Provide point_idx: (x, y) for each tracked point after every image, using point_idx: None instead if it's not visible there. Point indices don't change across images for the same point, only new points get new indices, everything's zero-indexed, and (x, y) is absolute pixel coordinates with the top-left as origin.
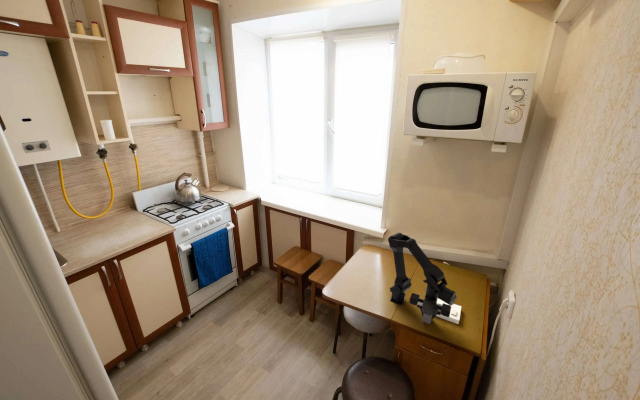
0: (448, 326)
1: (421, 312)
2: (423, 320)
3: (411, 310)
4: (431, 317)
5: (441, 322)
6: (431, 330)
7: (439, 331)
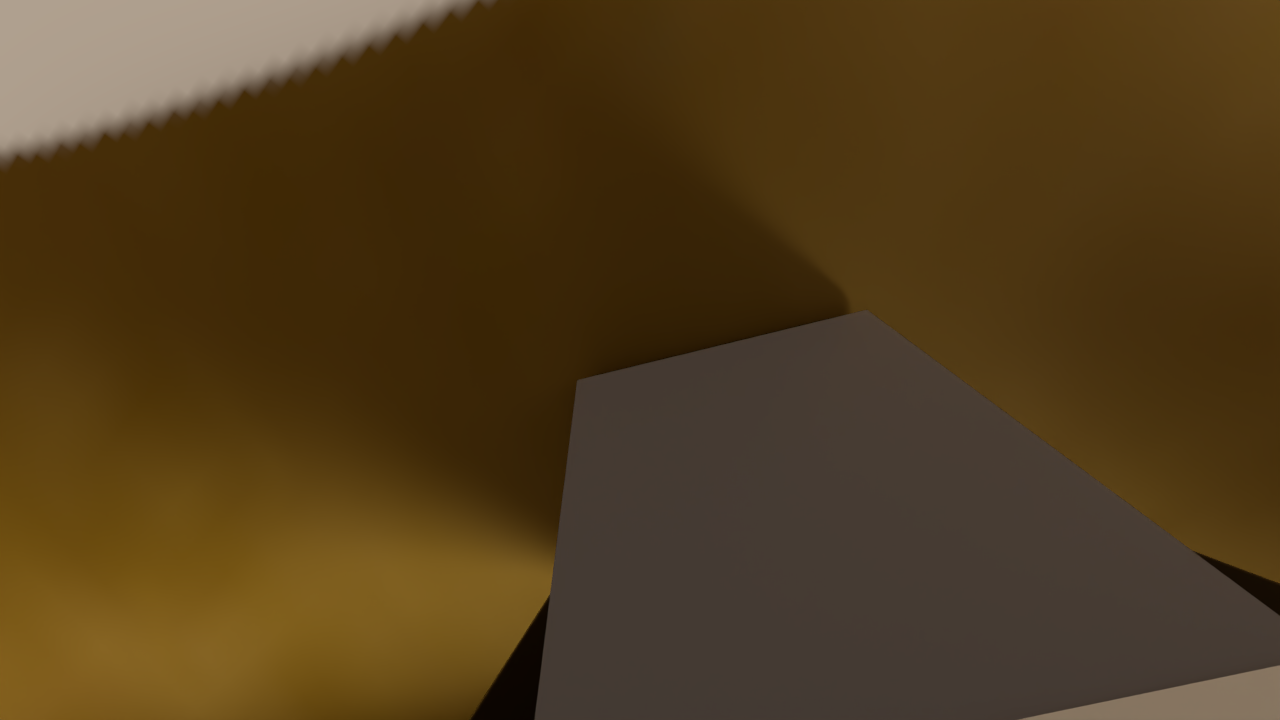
0: (175, 663)
1: (1255, 584)
2: (839, 339)
3: (1271, 488)
4: (552, 645)
5: (387, 659)
6: (400, 143)
7: (189, 316)
